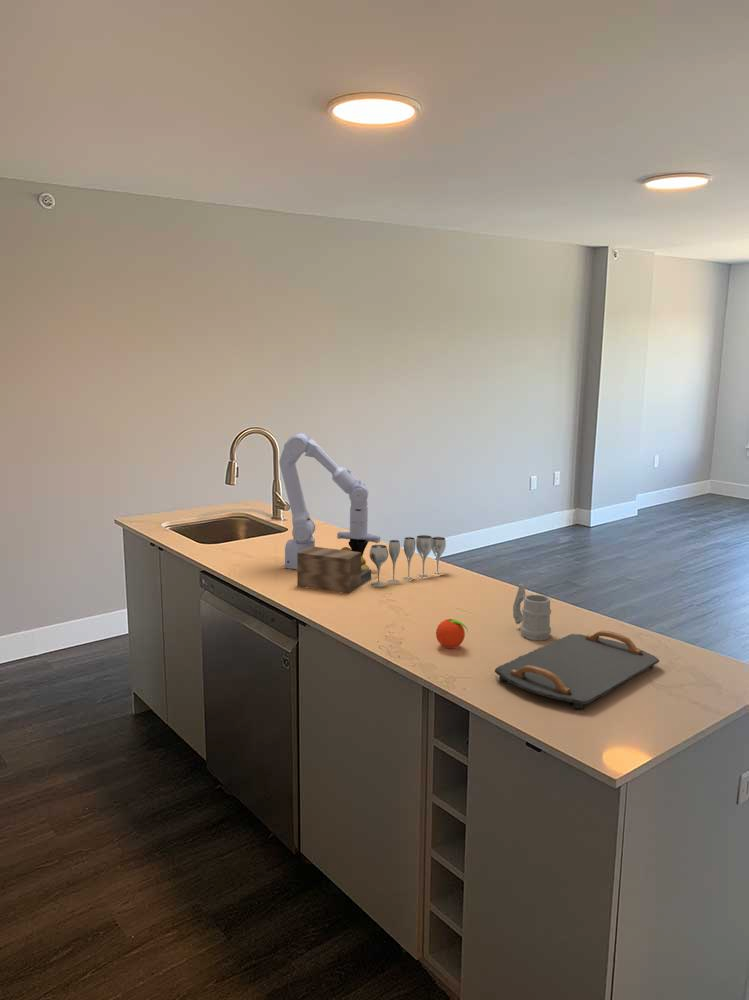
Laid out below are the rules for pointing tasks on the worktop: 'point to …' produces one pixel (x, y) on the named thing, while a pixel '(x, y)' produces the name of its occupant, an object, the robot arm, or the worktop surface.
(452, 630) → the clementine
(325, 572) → the walnut shelf
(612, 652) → the serving board
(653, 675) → the worktop surface
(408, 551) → the goblet set
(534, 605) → the mug
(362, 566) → the bread roll
